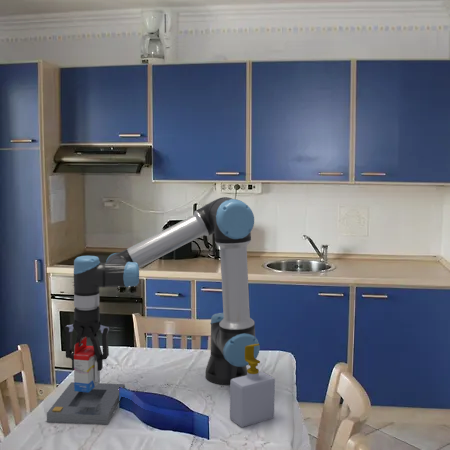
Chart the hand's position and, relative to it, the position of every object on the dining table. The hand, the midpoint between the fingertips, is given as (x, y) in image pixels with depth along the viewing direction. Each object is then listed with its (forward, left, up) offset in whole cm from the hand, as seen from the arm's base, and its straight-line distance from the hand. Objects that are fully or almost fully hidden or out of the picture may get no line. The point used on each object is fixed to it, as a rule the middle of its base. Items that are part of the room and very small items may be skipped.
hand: (87, 379), depth 170 cm
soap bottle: (-51, +4, -9) cm, 52 cm away
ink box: (0, 0, -3) cm, 3 cm away
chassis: (0, 0, -9) cm, 9 cm away
